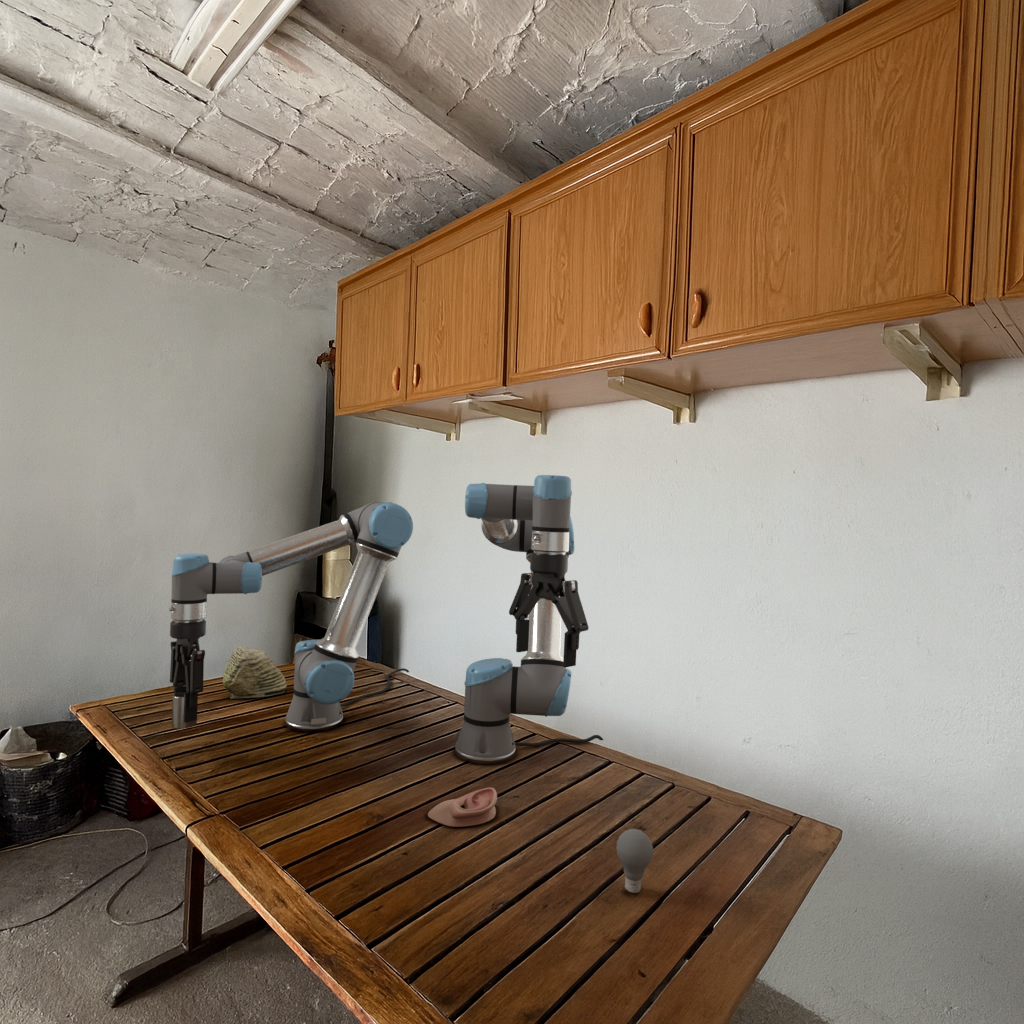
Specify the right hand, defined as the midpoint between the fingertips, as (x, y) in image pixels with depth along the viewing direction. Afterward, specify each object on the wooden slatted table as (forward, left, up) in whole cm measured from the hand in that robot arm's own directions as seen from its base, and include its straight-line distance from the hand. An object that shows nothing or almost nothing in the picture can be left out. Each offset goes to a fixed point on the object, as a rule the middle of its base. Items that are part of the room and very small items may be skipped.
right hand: (544, 658), depth 127 cm
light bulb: (+3, +26, -33) cm, 42 cm away
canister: (+48, -71, -25) cm, 89 cm away
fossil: (+18, -110, -33) cm, 116 cm away
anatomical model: (+10, -11, -33) cm, 36 cm away
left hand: (+48, -71, -23) cm, 89 cm away
